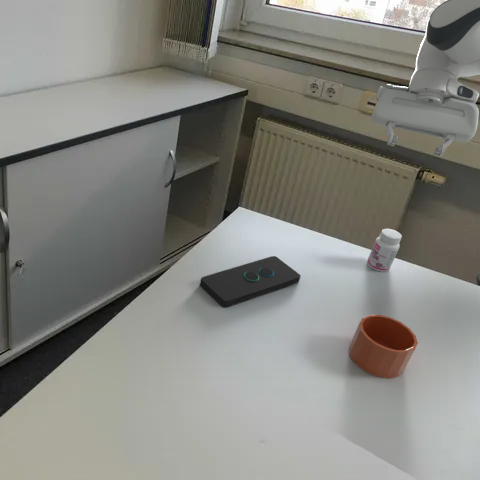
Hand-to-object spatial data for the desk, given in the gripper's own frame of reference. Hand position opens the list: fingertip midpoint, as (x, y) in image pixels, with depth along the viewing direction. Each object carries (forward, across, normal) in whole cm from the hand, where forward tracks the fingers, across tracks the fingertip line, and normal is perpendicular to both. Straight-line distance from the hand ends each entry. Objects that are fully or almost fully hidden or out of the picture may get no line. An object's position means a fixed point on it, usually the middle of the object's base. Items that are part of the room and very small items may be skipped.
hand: (414, 149), depth 115 cm
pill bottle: (+25, 0, +8) cm, 26 cm away
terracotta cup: (+47, 0, -15) cm, 49 cm away
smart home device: (+40, -24, -7) cm, 47 cm away
